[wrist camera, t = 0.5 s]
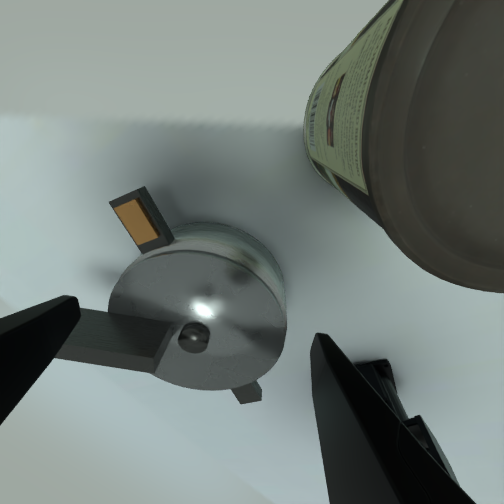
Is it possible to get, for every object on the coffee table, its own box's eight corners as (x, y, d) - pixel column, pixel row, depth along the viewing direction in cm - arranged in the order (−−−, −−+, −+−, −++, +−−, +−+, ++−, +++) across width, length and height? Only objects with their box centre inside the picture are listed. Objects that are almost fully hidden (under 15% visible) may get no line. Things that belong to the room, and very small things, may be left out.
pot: (313, 351, 28) (321, 392, 24) (200, 376, 32) (189, 416, 27) (231, 147, 19) (219, 152, 15) (84, 212, 23) (38, 232, 18)
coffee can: (458, 159, 19) (853, 221, 6) (325, 211, 21) (406, 331, 8) (443, -7, 15) (1491, -842, 2) (282, 80, 17) (313, -58, 5)
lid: (303, 266, 18) (312, 308, 13) (268, 392, 24) (268, 446, 20) (38, 224, 18) (-34, 253, 13) (75, 362, 24) (35, 410, 20)
